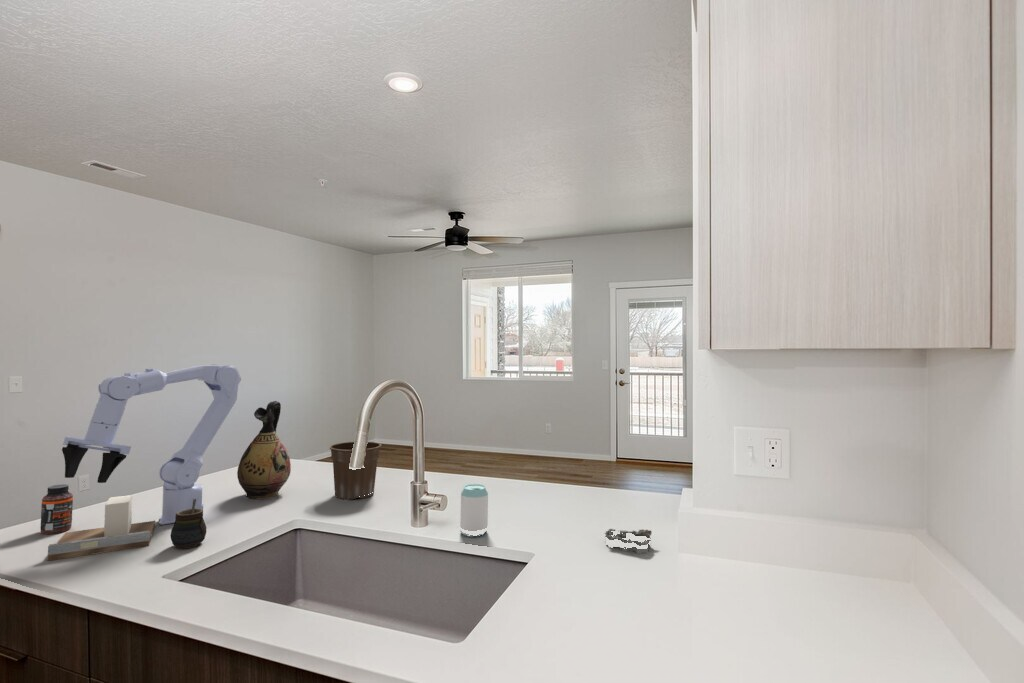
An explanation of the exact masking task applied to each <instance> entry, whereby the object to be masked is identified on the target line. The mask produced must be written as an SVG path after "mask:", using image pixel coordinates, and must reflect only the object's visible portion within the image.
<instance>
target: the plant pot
mask: <svg viewBox="0 0 1024 683" xmlns="http://www.w3.org/2000/svg"><path fill="white" fill-rule="evenodd" d="M354 442H355V441H347V442H339V443H333V444H331V445H329V450H330V454H331V457H330V458H331V460H332V465H333V466H332V469H333V485H334V496H335V497H336V498H337V499H341V500H345V501H346V500H356V499H357V498H359V499H365V498H369V497H371V496H373V495H374V493H375V488H376V487H375V486H376V485H375V483H376V475H377V467H378V459H379V457H380V449H381V447H382V444H381V443H380V442H374V441H367V442H368V444H367V450H366V458H365V461H364V467H365V468H361V469H356V470H352V469H349V463H350V457H351V453H352V448H353V444H354ZM372 492H373V493H372ZM370 493H371V494H370ZM368 494H369V495H368ZM364 495H365V496H364ZM359 496H360V497H359Z"/></svg>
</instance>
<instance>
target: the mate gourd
mask: <svg viewBox="0 0 1024 683" xmlns="http://www.w3.org/2000/svg"><path fill="white" fill-rule="evenodd" d="M195 503H196V499H193V506H192V509H187V510H182V511H179V512H178V513H176V514H175V515H176V517H175V519H176V520H175V523H173V526H172V528H171V531H170V535H169V537H170V540H171V543H172V545H173V546H174V547H175V548H177V549H183V550H184V549H185V550H186V549H191V548H195V547H197V546H199V545H200V544H201V543H202V542H203V541H204V540H205V539H206V535H207V526H206V523H205V519H204V509H203V510H202V509H195Z"/></svg>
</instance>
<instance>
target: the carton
mask: <svg viewBox="0 0 1024 683" xmlns="http://www.w3.org/2000/svg"><path fill="white" fill-rule="evenodd" d="M132 509H133V494H131V495H128V494H127V495H121V496H119V495H118V496H111V497H109V498H108V499H107V501H106V502H105V505H104V527H103V528H104V537H108V536H115V535H122V534H128V533H129V531H130V529H131V524H132V521H133V520H132V518H133V517H132V516H133V510H132Z"/></svg>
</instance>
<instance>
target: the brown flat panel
mask: <svg viewBox="0 0 1024 683" xmlns="http://www.w3.org/2000/svg"><path fill="white" fill-rule="evenodd" d="M155 524H156V520H151V521H142V522H134V523H131V529H130V531H129V533H136V532H144V531H150V537H149V541H142V542H135V543H128V544H122V545H115V546H108V547H101V548H94V549H88V550H81V551H74V552H67V553H60V554H54V555H48V554H47V562H49V561H56V560H63V559H69V558H75V557H82V556H88V555H95V554H102V553H109V552H115V551H123V550H129V549H134V548H136V549H137V548H142V547H149V546H150V543H151V540H152V536H153V533H154V530H155ZM129 533H128V534H129ZM100 537H104V527H97V528H90V529H82V530H73V531H67V532H66V531H65V532H64V534H63V535H62V536H61V537H60V539H59V540H58V542H57V543H65V542H72V541H79V540H86V539H93V538H100Z"/></svg>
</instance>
